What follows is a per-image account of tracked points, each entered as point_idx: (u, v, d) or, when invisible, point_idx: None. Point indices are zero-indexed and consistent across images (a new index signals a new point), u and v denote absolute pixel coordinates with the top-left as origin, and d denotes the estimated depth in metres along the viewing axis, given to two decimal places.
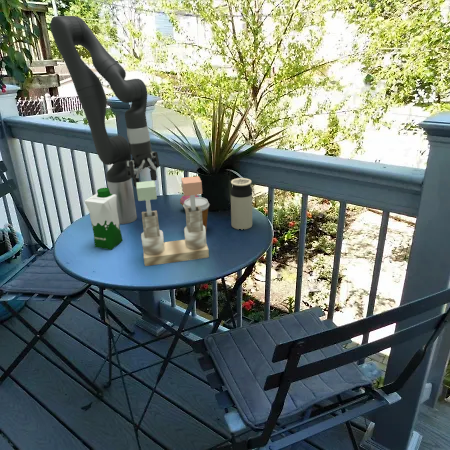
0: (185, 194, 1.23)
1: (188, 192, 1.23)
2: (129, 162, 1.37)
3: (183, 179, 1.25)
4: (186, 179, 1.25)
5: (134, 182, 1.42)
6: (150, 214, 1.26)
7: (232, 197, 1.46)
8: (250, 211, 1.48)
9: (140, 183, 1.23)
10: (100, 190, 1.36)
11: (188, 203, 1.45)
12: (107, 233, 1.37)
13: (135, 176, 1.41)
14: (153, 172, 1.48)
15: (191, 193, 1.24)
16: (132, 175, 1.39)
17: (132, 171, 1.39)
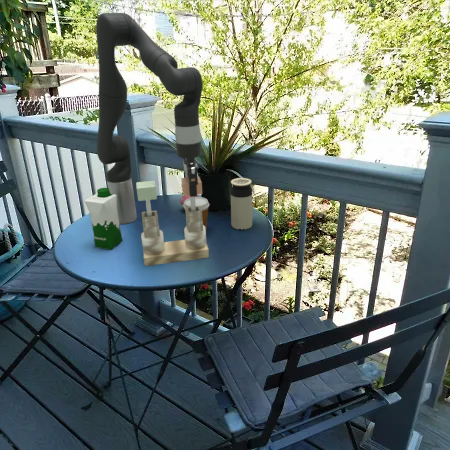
0: (185, 194, 1.23)
1: (188, 192, 1.23)
2: None
3: (183, 179, 1.25)
4: (186, 179, 1.25)
5: None
6: (150, 214, 1.26)
7: (232, 197, 1.46)
8: (250, 211, 1.48)
9: (140, 183, 1.23)
10: (100, 190, 1.36)
11: (188, 203, 1.45)
12: (107, 233, 1.37)
13: None
14: None
15: None
16: None
17: None
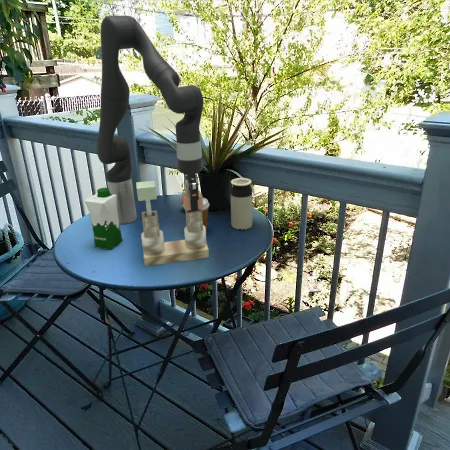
0: (186, 209, 1.25)
1: (189, 207, 1.25)
2: None
3: (184, 194, 1.27)
4: (187, 194, 1.27)
5: None
6: (150, 214, 1.26)
7: (232, 197, 1.46)
8: (250, 211, 1.48)
9: (140, 183, 1.23)
10: (100, 190, 1.36)
11: None
12: (107, 233, 1.37)
13: None
14: None
15: None
16: None
17: None
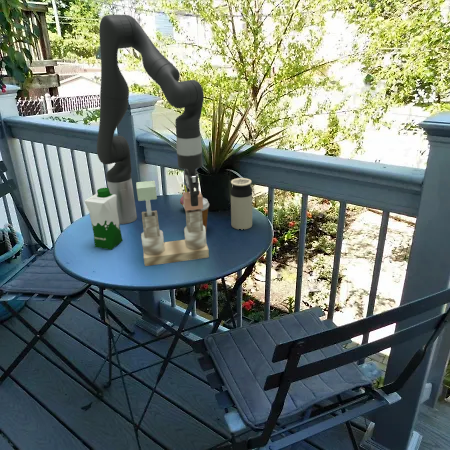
0: (186, 209, 1.25)
1: (189, 207, 1.25)
2: None
3: (184, 194, 1.27)
4: (187, 194, 1.27)
5: None
6: (150, 214, 1.26)
7: (232, 197, 1.46)
8: (250, 211, 1.48)
9: (140, 183, 1.23)
10: (100, 190, 1.36)
11: None
12: (107, 233, 1.37)
13: None
14: None
15: (192, 208, 1.26)
16: None
17: None
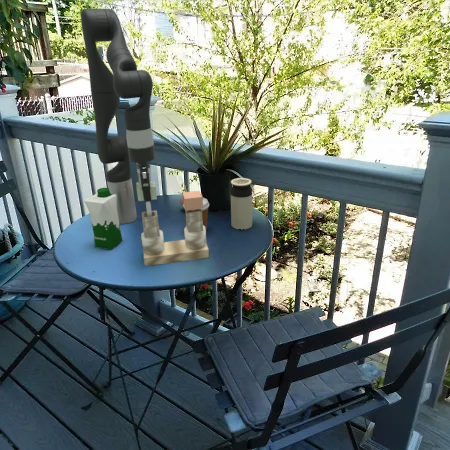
0: (186, 209, 1.25)
1: (189, 207, 1.25)
2: None
3: (184, 194, 1.27)
4: (187, 194, 1.27)
5: None
6: (150, 214, 1.26)
7: (232, 197, 1.46)
8: (250, 211, 1.48)
9: (140, 183, 1.23)
10: (100, 190, 1.36)
11: None
12: (107, 233, 1.37)
13: None
14: None
15: (192, 208, 1.26)
16: None
17: None
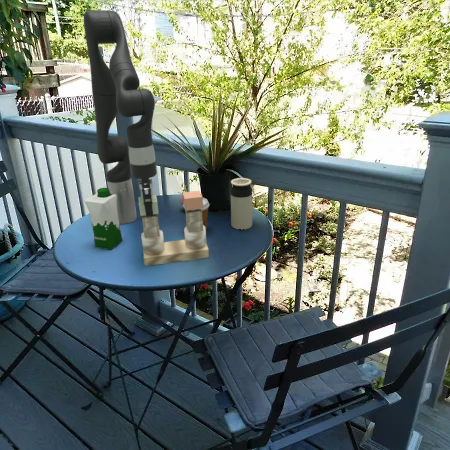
0: (186, 209, 1.25)
1: (189, 207, 1.25)
2: None
3: (184, 194, 1.27)
4: (187, 194, 1.27)
5: None
6: None
7: (232, 197, 1.46)
8: (250, 211, 1.48)
9: (142, 198, 1.25)
10: (100, 190, 1.36)
11: None
12: (107, 234, 1.37)
13: None
14: None
15: (192, 208, 1.26)
16: None
17: None
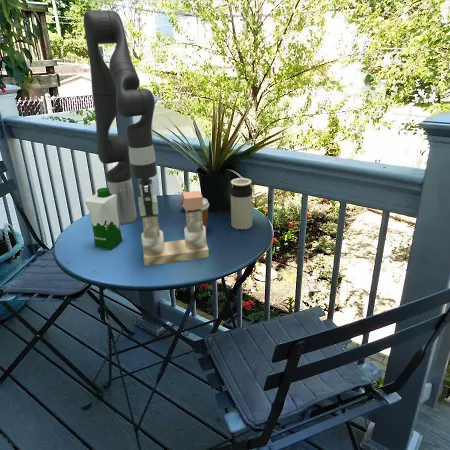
0: (186, 209, 1.25)
1: (189, 207, 1.25)
2: None
3: (184, 194, 1.27)
4: (187, 194, 1.27)
5: None
6: None
7: (232, 197, 1.46)
8: (250, 211, 1.48)
9: (142, 198, 1.25)
10: (100, 190, 1.36)
11: None
12: (107, 234, 1.37)
13: None
14: None
15: (192, 208, 1.26)
16: None
17: None
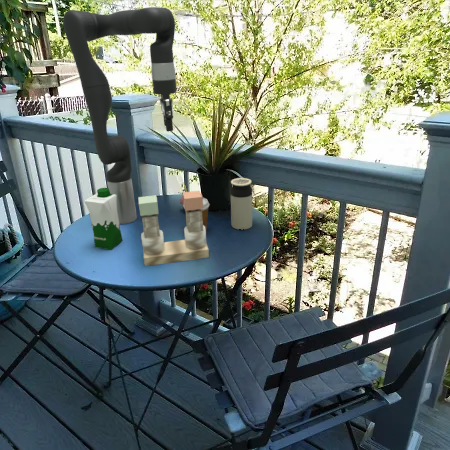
0: (186, 209, 1.25)
1: (189, 207, 1.25)
2: None
3: (184, 194, 1.27)
4: (187, 194, 1.27)
5: None
6: None
7: (232, 197, 1.46)
8: (250, 211, 1.48)
9: (142, 198, 1.25)
10: (100, 190, 1.36)
11: None
12: (107, 233, 1.37)
13: None
14: None
15: (192, 208, 1.26)
16: None
17: None
